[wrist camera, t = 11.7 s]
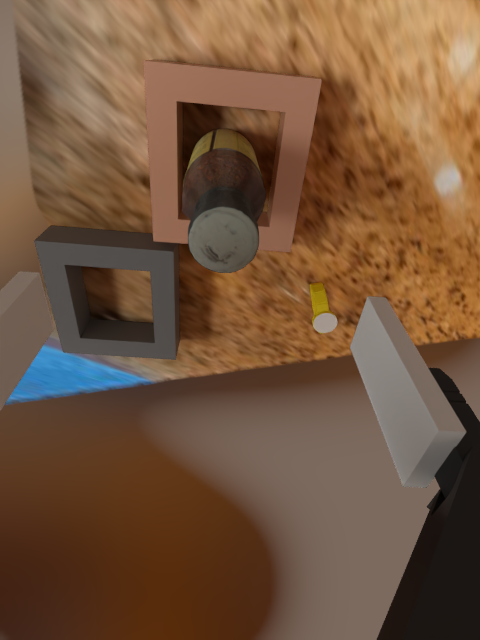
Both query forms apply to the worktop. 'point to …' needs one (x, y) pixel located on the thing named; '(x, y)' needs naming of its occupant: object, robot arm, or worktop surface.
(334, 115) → the worktop surface
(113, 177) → the worktop surface
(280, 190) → the holder
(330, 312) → the watch
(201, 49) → the worktop surface
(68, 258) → the holder
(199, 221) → the sauce bottle
